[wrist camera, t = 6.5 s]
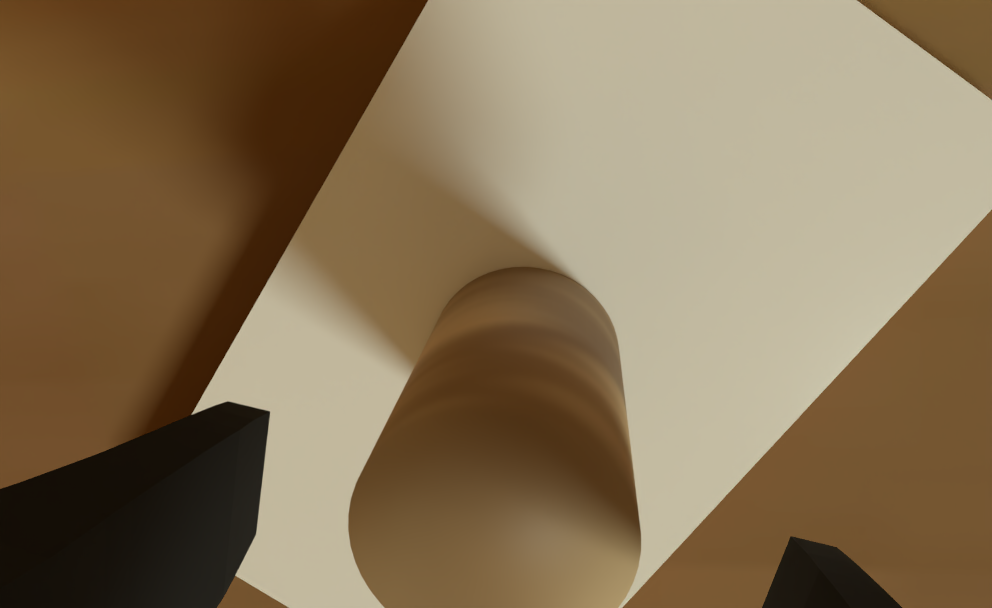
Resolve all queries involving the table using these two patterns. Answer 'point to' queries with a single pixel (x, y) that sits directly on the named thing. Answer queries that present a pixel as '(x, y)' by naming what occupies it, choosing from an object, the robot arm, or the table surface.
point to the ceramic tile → (609, 237)
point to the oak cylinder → (505, 458)
